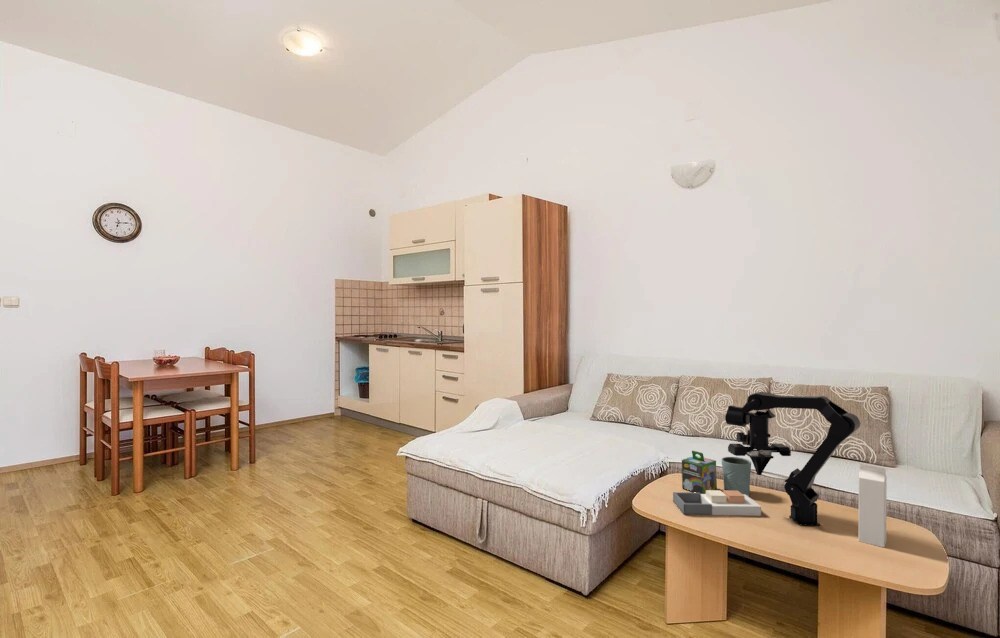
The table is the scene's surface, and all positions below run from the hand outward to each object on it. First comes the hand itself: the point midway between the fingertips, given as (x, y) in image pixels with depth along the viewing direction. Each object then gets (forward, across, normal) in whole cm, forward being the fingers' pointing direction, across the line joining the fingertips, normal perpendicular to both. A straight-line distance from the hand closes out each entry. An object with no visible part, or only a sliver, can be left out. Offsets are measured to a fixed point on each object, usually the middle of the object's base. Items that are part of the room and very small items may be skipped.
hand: (758, 474), depth 166 cm
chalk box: (+12, +14, -18) cm, 26 cm away
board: (+12, +10, 0) cm, 15 cm away
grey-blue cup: (+12, 0, -16) cm, 20 cm away
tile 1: (+9, +14, 0) cm, 17 cm away
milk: (+12, -22, +23) cm, 34 cm away
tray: (+12, +23, 0) cm, 26 cm away
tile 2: (+9, +8, 0) cm, 12 cm away
